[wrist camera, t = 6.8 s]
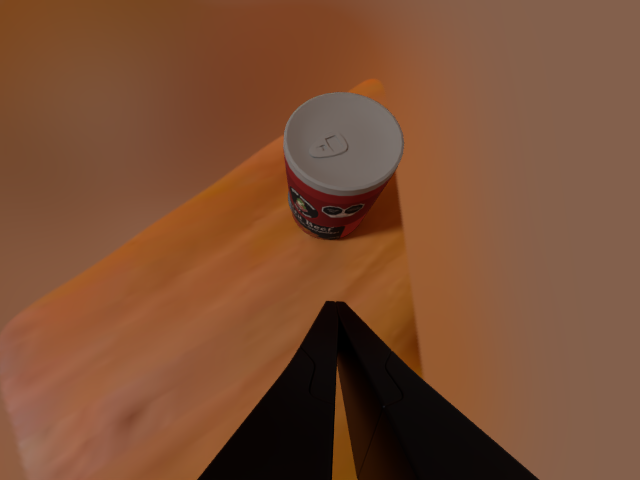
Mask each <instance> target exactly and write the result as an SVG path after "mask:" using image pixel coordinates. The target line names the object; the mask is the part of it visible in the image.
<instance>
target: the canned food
mask: <svg viewBox="0 0 640 480" xmlns="http://www.w3.org/2000/svg"><path fill="white" fill-rule="evenodd" d="M283 148H284V158H285V166H286V173H287V180H288V188H289V195H290V202H291V209H292V215H293V217H294V220H295V222H296V223H297V225H298V226H299V227H300V228H301V229H302V230H303V231H304V232H305V233H307V234H309V235H310V236H312V237H315V238H318V239H324V240H332V239H337V238H341V237H344V236H346V235H348V234H349V233H351V232H352V231H353V230H355V229H356V228H357V227H358V225H359V224H360V222H361V221H362V219H363V218H364V216H365V215H366V214H367V212H368V211H369V209H370V208H371V206H372V205H373V203H374V202H375V200H376V199H377V198H378V196H379V195H380V193H381V192H382V190H383V189H384V187H385V186H386V184H387V183H388V181H389V180H390V178H391V177H392V175H393V173H394V172H395V170H396V169H397V167H398V164H399V162H400V160H401V157H402V154H403V149H404V140H403V133H402V131H401V128H400V125H399V124H398V122H397V120H396V119H395V117H394V116H393V115H392V114H391V113H390V112H389V110H388V109H386V108H385V107H384V106H382V105H381V104H380V103H378V102H376V101H374V100H372V99H370V98H368V97H365V96H362V95H359V94H354V93H346V92H335V93H327V94H324V95H320V96H316V97H314V98H312V99H310V100H308V101H307V102H305V103H304V104H302V105H301V106H300V107H298V108H297V110H295V112H294V113H293V114H292V115H291V117H290V119H289V120H288V122H287V125H286V128H285V131H284V147H283Z"/></svg>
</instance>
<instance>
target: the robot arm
mask: <svg viewBox="0 0 640 480" xmlns="http://www.w3.org/2000/svg"><path fill="white" fill-rule="evenodd" d="M337 366H338V372H339V378H340V383H341V389H342V395H343V400H344V406H345V412H346V418H347V423H348V429H349V435H350V440H351V446H352V452H353V458H354V463H355V469H356V475H357V479H358V480H539V479H538V478H537V477H536V476H534V475H533V474H532V473H531V472H530V471H529V470H527V469H526V468H525V467H524V466H523V465H522V464H520V463H519V462H518V461H517V460H516V459H514V458H513V457H512V456H511V455H510V454H509V453H508V452H506V451H505V450H504V449H503V448H502V447H501V446H499V445H498V444H497V443H496V442H495V441H494V440H492V439H491V438H490V437H489V436H488V435H487V434H485V433H484V432H483V431H482V430H481V429H479V428H478V427H477V426H476V425H475V424H474V423H473V422H471V421H470V420H469V419H468V418H467V417H466V416H465V415H463V414H462V413H461V412H460V411H459V410H458V409H456V408H455V407H454V406H453V405H452V404H451V403H449V402H448V401H447V400H446V399H445V398H444V397H442V396H441V395H440V394H439V393H438V392H437V391H435V390H434V389H433V388H432V387H431V386H430V385H429V384H427V383H426V382H425V381H424V380H423V379H422V378H420V377H419V376H418V375H417V374H416V373H415V372H414V371H413V370H412V369H410V368H409V367H408V366H407V365H406V364H405V363H404V362H403V361H402V360H401V359H400V358H399V357H398V356H397V355H396V354H395V353H394V352H393V351H392V350H391V349H390V348H389V347H388V346H387V345H386V344H385V343H384V342H383V341H382V340H381V339H380V338H379V337H378V336H377V335H376V334H375V333H374V332H373V331H372V330H371V329H370V328H369V327H368V326H367V324H366V323H365V322H364V321H363V320H362V319H361V318H360V317H359V316H358V315H357V314H356V313H355V312H354V311H353V310H352V309H351V308H350V307H349V306H348V305H347V304H346V303H345V302H341V301H336V302H334V301H326V302H325V304H324V305H323V307H322V309H321V311H320V312H319V314H318V316H317V318H316V319H315V321H314V323H313V324H312V326H311V328H310V330H309V331H308V333H307V335H306V337H305V338H304V340H303V342H302V343H301V345H300V347H299V348H298V350H297V352H296V353H295V355H294V357H293V358H292V360H291V361H290V363H289V364H288V366H287V367H286V368H285V370H284V371H283V372H282V374H281V375H280V376H279V378H278V379H277V380H276V381H275V383H274V384H273V385H272V386H271V388H270V389H269V390H268V391H267V393H266V394H265V395H264V396H263V398H262V399H261V400H260V401H259V403H258V404H257V405H256V407H255V408H254V409H253V410H252V412H251V413H250V414H249V415H248V417H247V418H246V419H245V420H244V422H243V423H242V424H241V425H240V427H239V428H238V429H237V430H236V432H235V433H234V434H233V435H232V437H231V438H230V439H229V440H228V442H227V443H226V444H225V445H224V447H223V448H222V449H221V450H220V452H219V453H218V454H217V455H216V457H215V458H214V459H213V460H212V462H211V463H210V464H209V466H208V467H207V468H206V469H205V471H204V472H203V473H202V474H201V476H200V477H199V478H198V479H197V480H332V464H333V441H334V418H335V394H336V371H337Z"/></svg>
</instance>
